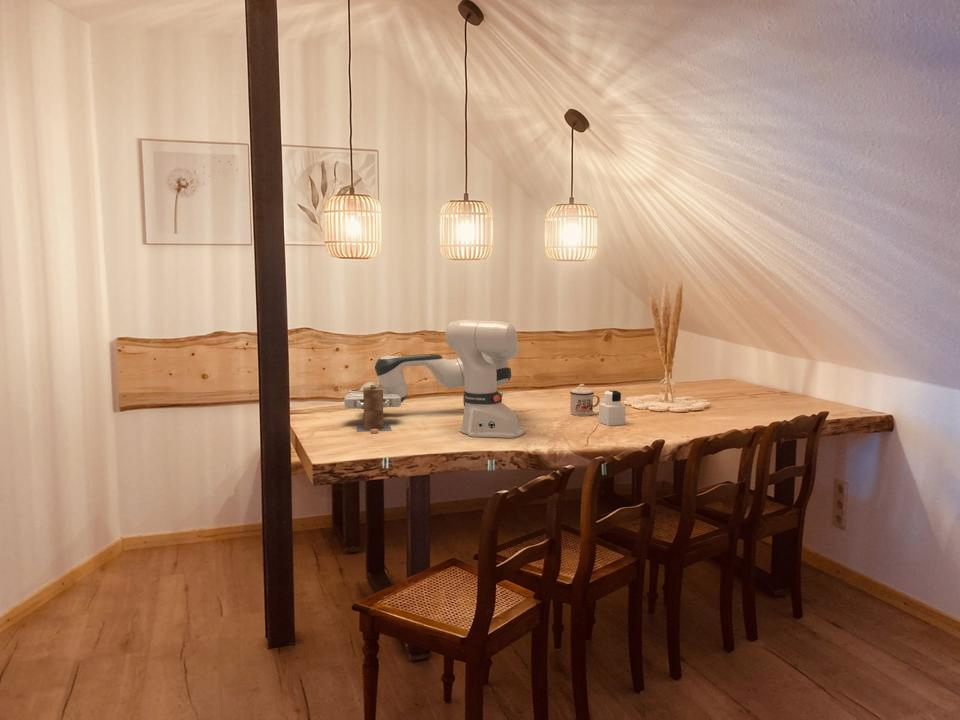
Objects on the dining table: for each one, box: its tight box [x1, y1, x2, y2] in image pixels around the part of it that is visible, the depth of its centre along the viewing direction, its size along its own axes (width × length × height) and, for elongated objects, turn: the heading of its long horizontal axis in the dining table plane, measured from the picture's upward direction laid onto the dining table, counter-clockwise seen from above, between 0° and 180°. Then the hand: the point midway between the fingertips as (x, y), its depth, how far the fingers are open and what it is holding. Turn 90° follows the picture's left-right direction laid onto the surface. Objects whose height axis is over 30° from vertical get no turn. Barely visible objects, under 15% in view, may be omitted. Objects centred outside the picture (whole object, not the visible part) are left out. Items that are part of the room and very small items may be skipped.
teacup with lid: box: [569, 383, 601, 417], centre depth 315 cm, size 12×9×12 cm
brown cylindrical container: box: [363, 385, 384, 430], centre depth 288 cm, size 7×7×15 cm
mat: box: [355, 422, 392, 433], centre depth 289 cm, size 12×12×1 cm
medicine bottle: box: [598, 390, 626, 427], centre depth 297 cm, size 7×7×12 cm
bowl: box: [370, 429, 379, 435], centre depth 281 cm, size 3×3×2 cm
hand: (373, 405), depth 287 cm, fingers closed on brown cylindrical container, 7 cm apart
